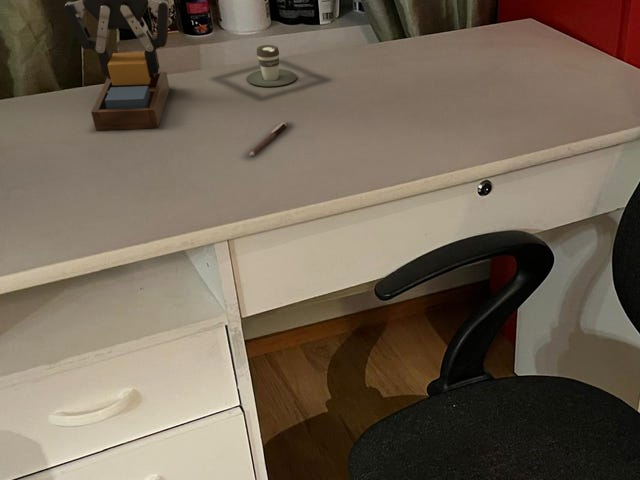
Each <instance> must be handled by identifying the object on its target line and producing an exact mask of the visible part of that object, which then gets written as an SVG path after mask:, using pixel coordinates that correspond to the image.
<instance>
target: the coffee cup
mask: <svg viewBox="0 0 640 480" xmlns="http://www.w3.org/2000/svg"><path fill="white" fill-rule="evenodd" d="M256 56H257V57H258V58H257V60H258V63H259V67H260V70H257V71H254V72H252V73H250V74H248V75H247V76H246V81H247V82H248V83H249V84H250V85H252V86H255V87H259V88H277V87H282V86H286V85H290V84H292V83H294V82H295V81H296V80H298V75H297V74H296V73H295V72H293V71H291V70H289V69H281V68H280V51H279V47H278V46H277V45H274V44H263V45H259V46H258V47H257V48H256Z"/></svg>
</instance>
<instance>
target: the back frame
mask: <svg viewBox="0 0 640 480" xmlns="http://www.w3.org/2000/svg"><path fill="white" fill-rule="evenodd" d="M134 86H148V88H149V92H150V97H151V104H150V107H149V108H133V109H109V110H107V106H106V102H105V99H106V97H107V95H108V93H109V90H110V88H111V87H134ZM169 91H170V83H169V78H168V73H167V71H158V73H156V76H155V78H151V80H150V83H149V84H145V85H118V86H113V85H112V82H111V79H108V76H107V77H106V80H105V82H104V84H103V86H102V88H101V91H100V93H99V94H98V97H97V99H96V101H95V102H94V105H93V108H92V110H91V112H90V114H91V117H92V120H93V125H94V128H95V131H118V130H137V129H138V130H139V129H140V130H141V129H159V126H160V122H161V119H162V116H163V112H164V109H165V106H166V102H167V98H168V95H169Z"/></svg>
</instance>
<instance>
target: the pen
mask: <svg viewBox="0 0 640 480" xmlns="http://www.w3.org/2000/svg"><path fill="white" fill-rule="evenodd" d="M287 127H288V123H287V122H281V123H279V124H278V125H277V126H276V127H275V128H273V129H272V130H271V132H270V134H268V135H267V136H266V137H265V138H264V139H262V141H261V142H260V143H258V145H256V146H255V147H254V148H253V149H251V151H250V153H249V157H254V156H257V154H258V153H259V152H260V151H261V150H263V149H264V148H265V147H266V146H268V145H269V144H270V143H271V142H272V141H273V140H274V139H276V138H277V137H278V136H279V135H280V134H281V133H282V132H283V131H284V130H286V129H287Z"/></svg>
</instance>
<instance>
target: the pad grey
mask: <svg viewBox="0 0 640 480" xmlns="http://www.w3.org/2000/svg"><path fill="white" fill-rule="evenodd" d="M105 102H106V106H107V110H109V109H133V108H149V107H150V104H151V97H150V92H149V88H148V86H134V87H111V88H110V90H109V93H108V95H107V97H106V99H105Z"/></svg>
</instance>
